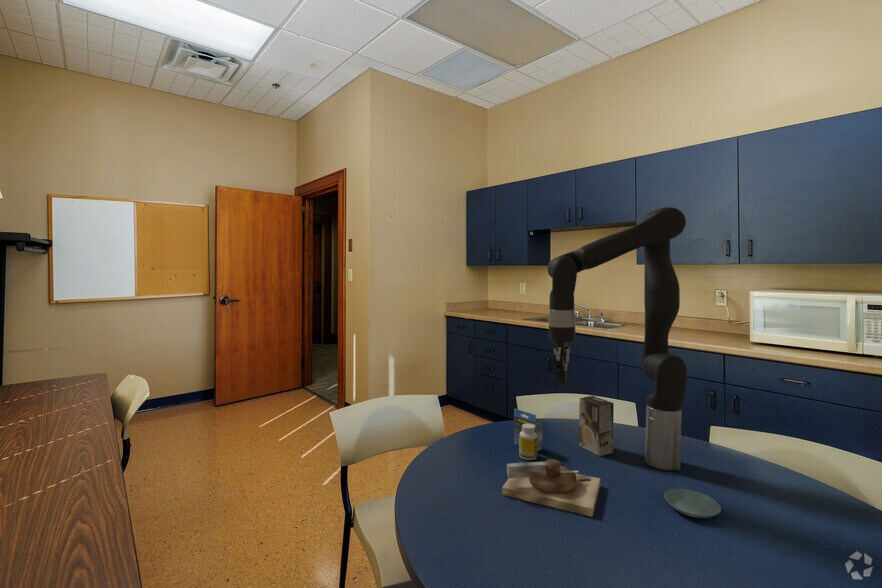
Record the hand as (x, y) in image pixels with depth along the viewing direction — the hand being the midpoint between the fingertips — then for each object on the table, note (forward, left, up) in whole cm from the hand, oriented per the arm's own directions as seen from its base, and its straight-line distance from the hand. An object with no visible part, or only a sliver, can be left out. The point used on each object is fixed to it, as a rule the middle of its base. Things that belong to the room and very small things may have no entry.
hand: (562, 382), depth 127 cm
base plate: (-1, +17, -24) cm, 30 cm away
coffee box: (-8, -15, -25) cm, 30 cm away
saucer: (-33, +11, -25) cm, 43 cm away
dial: (+1, +19, -22) cm, 29 cm away
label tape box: (+12, -7, -25) cm, 28 cm away
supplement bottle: (+10, 0, -25) cm, 26 cm away
